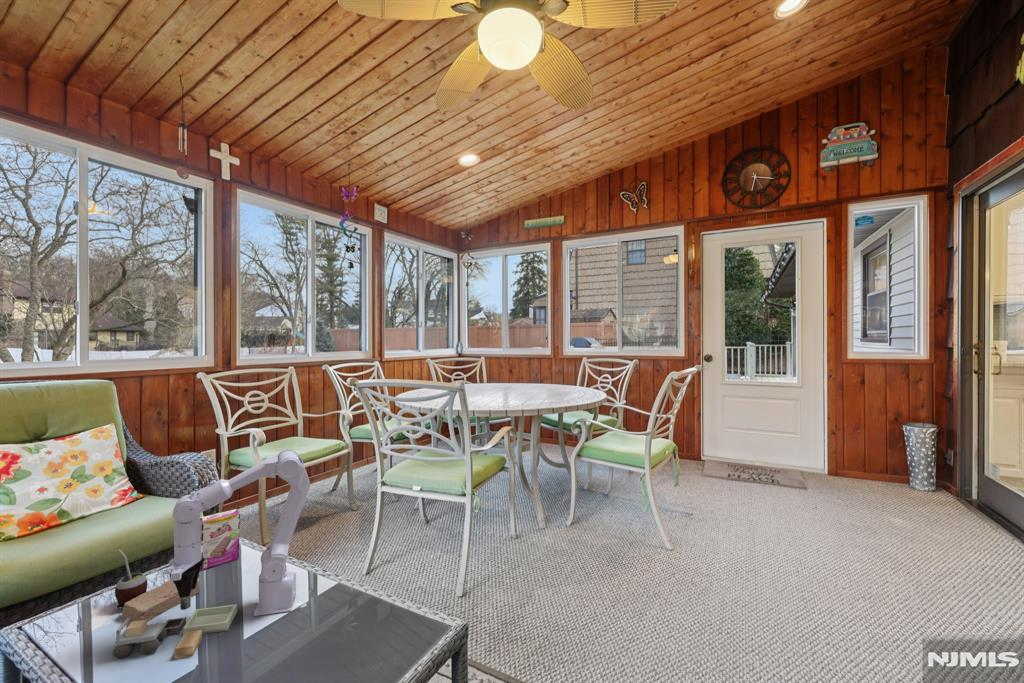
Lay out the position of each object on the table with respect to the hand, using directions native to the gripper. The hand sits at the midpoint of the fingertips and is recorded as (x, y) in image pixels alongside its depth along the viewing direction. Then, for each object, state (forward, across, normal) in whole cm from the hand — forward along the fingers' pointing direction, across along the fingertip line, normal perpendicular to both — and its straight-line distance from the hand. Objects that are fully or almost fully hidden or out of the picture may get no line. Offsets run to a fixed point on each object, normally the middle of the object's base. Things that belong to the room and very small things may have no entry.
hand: (187, 592), depth 118 cm
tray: (+10, 0, +5) cm, 11 cm away
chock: (+10, +9, +4) cm, 14 cm away
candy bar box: (+10, -35, -4) cm, 36 cm away
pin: (+4, 0, -1) cm, 4 cm away
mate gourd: (+10, -15, -20) cm, 27 cm away
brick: (+10, -13, -11) cm, 19 cm away
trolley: (+9, +6, -8) cm, 14 cm away
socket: (+9, 0, -3) cm, 10 cm away
